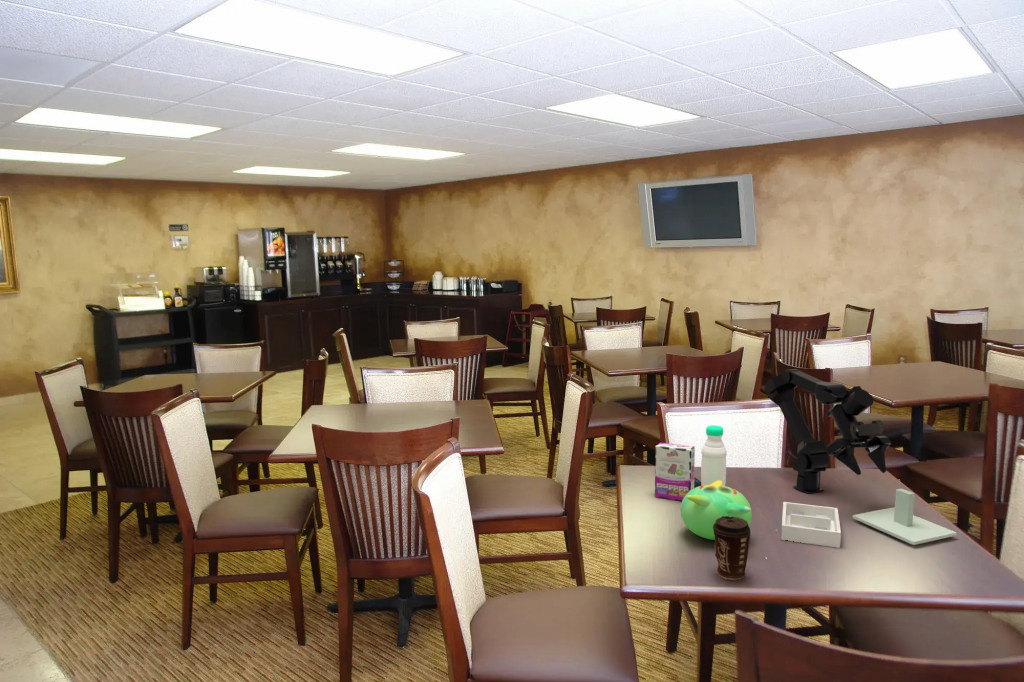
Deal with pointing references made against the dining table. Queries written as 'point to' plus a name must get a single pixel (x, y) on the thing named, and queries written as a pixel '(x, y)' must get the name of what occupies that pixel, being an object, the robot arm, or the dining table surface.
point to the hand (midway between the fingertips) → (872, 473)
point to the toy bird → (712, 507)
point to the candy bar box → (674, 470)
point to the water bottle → (713, 457)
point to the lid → (904, 521)
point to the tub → (811, 524)
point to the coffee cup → (731, 546)
